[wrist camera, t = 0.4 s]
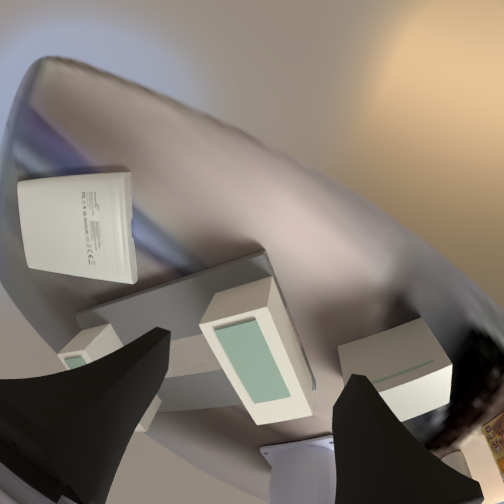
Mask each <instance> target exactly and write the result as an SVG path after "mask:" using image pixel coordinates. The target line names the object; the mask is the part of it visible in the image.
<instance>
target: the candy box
mask: <svg viewBox="0 0 504 504" xmlns="http://www.w3.org/2000/svg"><path fill="white" fill-rule="evenodd" d="M482 429H483V433H484V436H485V439H486V441H487V443H488V445H489V448H490V450H491V452H492V454H493V457H494V459H495V462H496V464H497V466H498V469H499V471H500V474H501V477H502V479H503V482H504V412H502V413H501V414H499V415H498V416H497V417H496V418H494V419H493V420H492V421H490V422H488V423H487V424H485V425H484V426H483V428H482Z"/></svg>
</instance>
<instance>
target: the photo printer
mask: <svg viewBox="0 0 504 504" xmlns="http://www.w3.org/2000/svg"><path fill="white" fill-rule="evenodd" d="M441 461H443V462H444V463H445V464H447V465H448V466H450V467H451V468H453V469H455V470H456V471H458V472H460V473H461V474H463V475H465V476H467V477H469V478H471V479H472V476H471V473H470V471H469V468H468V465H467V462H466V459H465V457H464V454H463V452H459V451H457V452H453V453H451V454H449V455H447V456H445V457H443V458H442V460H441Z"/></svg>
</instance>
